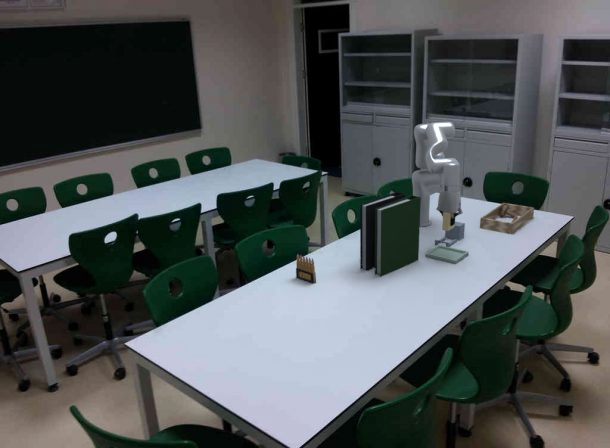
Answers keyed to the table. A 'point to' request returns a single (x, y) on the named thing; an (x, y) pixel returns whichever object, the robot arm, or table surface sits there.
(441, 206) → the robot arm
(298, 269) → the ammunition clip
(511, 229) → the frame
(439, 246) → the tray
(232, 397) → the table surface
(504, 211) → the toilet paper hanger
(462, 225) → the dispenser
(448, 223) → the block
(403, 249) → the pair of upright books
